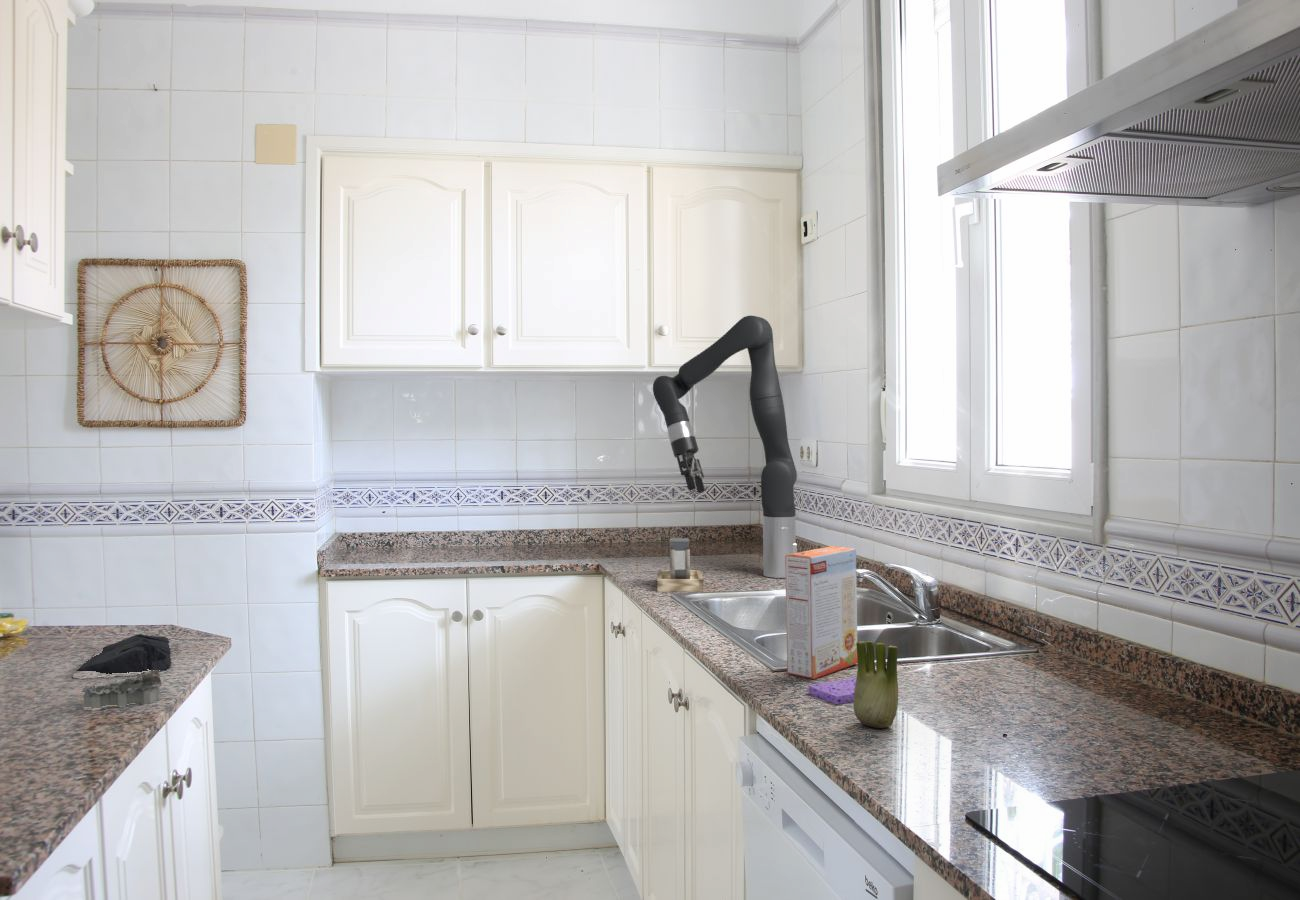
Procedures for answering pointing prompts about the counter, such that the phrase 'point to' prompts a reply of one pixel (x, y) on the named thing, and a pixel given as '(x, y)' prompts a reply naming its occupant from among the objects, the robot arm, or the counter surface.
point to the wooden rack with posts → (669, 583)
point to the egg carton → (125, 691)
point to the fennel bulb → (876, 685)
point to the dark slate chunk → (132, 656)
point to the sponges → (835, 690)
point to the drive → (679, 555)
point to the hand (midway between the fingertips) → (697, 490)
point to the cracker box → (821, 611)
